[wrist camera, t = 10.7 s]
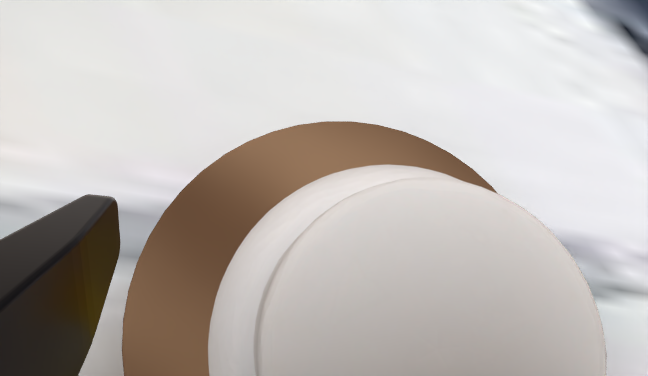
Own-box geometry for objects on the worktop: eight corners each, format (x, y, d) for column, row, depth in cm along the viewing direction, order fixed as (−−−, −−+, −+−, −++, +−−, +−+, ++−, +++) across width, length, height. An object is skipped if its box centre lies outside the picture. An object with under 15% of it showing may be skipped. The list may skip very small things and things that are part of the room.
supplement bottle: (384, 202, 17) (528, 39, 7) (475, 382, 16) (781, 469, 7) (205, 287, 16) (99, 228, 7) (292, 483, 16) (321, 762, 6)
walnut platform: (399, 615, 18) (424, 672, 15) (66, 391, 18) (26, 403, 15) (575, 271, 21) (625, 261, 18) (280, 87, 21) (281, 48, 18)
